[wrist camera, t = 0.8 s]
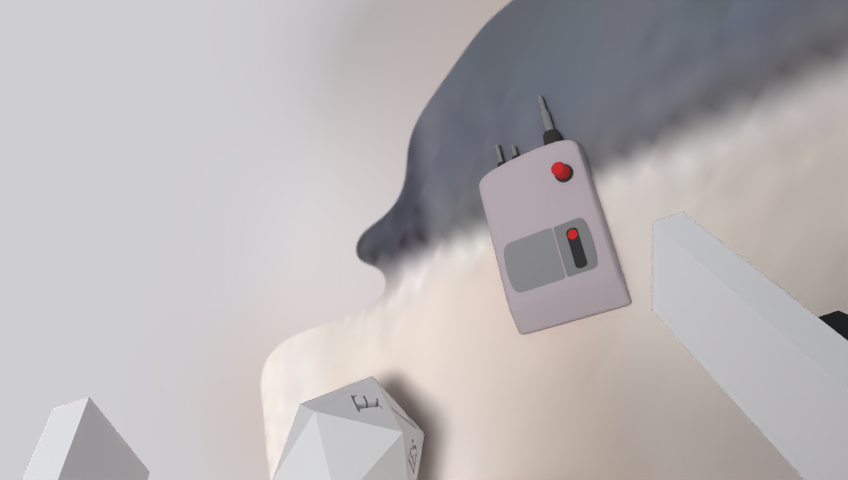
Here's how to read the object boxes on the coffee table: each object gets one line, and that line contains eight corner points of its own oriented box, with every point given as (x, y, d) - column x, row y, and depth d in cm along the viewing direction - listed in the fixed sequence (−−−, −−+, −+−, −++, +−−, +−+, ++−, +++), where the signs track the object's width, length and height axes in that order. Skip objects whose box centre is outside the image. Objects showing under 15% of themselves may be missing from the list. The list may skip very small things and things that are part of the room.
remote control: (533, 365, 34) (512, 366, 31) (475, 136, 39) (453, 121, 36) (645, 337, 30) (631, 336, 28) (566, 91, 35) (548, 71, 33)
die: (468, 504, 34) (407, 416, 29) (348, 592, 33) (260, 518, 28) (415, 413, 41) (357, 328, 36) (312, 484, 40) (236, 407, 34)
